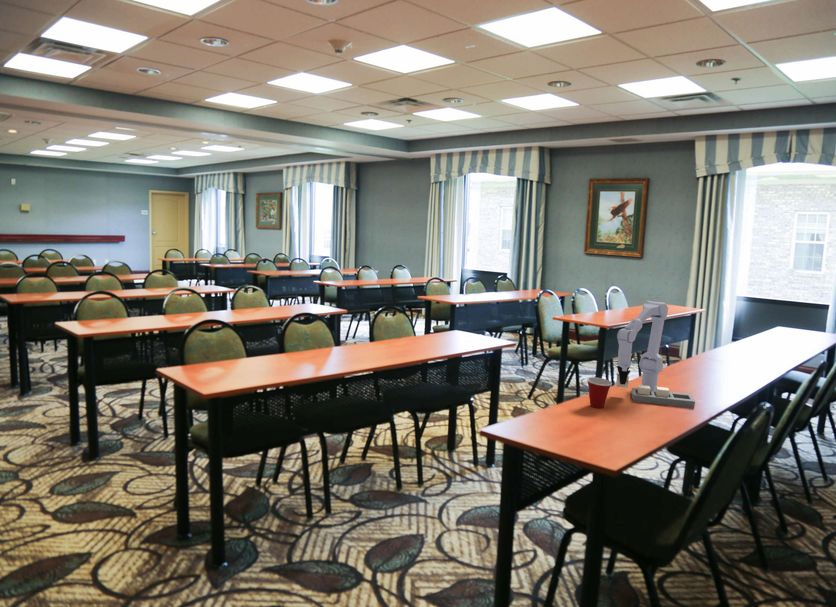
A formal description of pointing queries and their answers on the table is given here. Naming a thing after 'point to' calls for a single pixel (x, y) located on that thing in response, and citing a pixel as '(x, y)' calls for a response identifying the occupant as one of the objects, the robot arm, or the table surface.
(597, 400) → the plastic cup
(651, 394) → the puzzle board
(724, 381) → the table surface
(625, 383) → the loose block
